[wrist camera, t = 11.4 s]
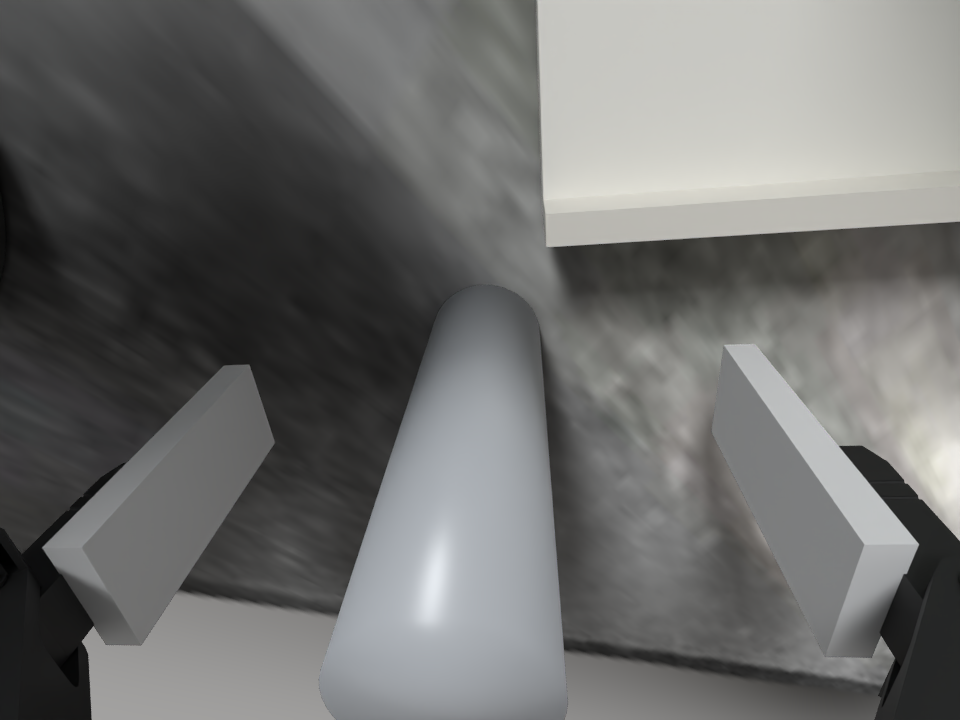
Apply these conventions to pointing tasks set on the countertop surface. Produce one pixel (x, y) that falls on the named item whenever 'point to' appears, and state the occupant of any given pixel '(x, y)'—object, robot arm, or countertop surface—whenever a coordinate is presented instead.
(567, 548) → the countertop surface
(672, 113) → the housing
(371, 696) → the pin
